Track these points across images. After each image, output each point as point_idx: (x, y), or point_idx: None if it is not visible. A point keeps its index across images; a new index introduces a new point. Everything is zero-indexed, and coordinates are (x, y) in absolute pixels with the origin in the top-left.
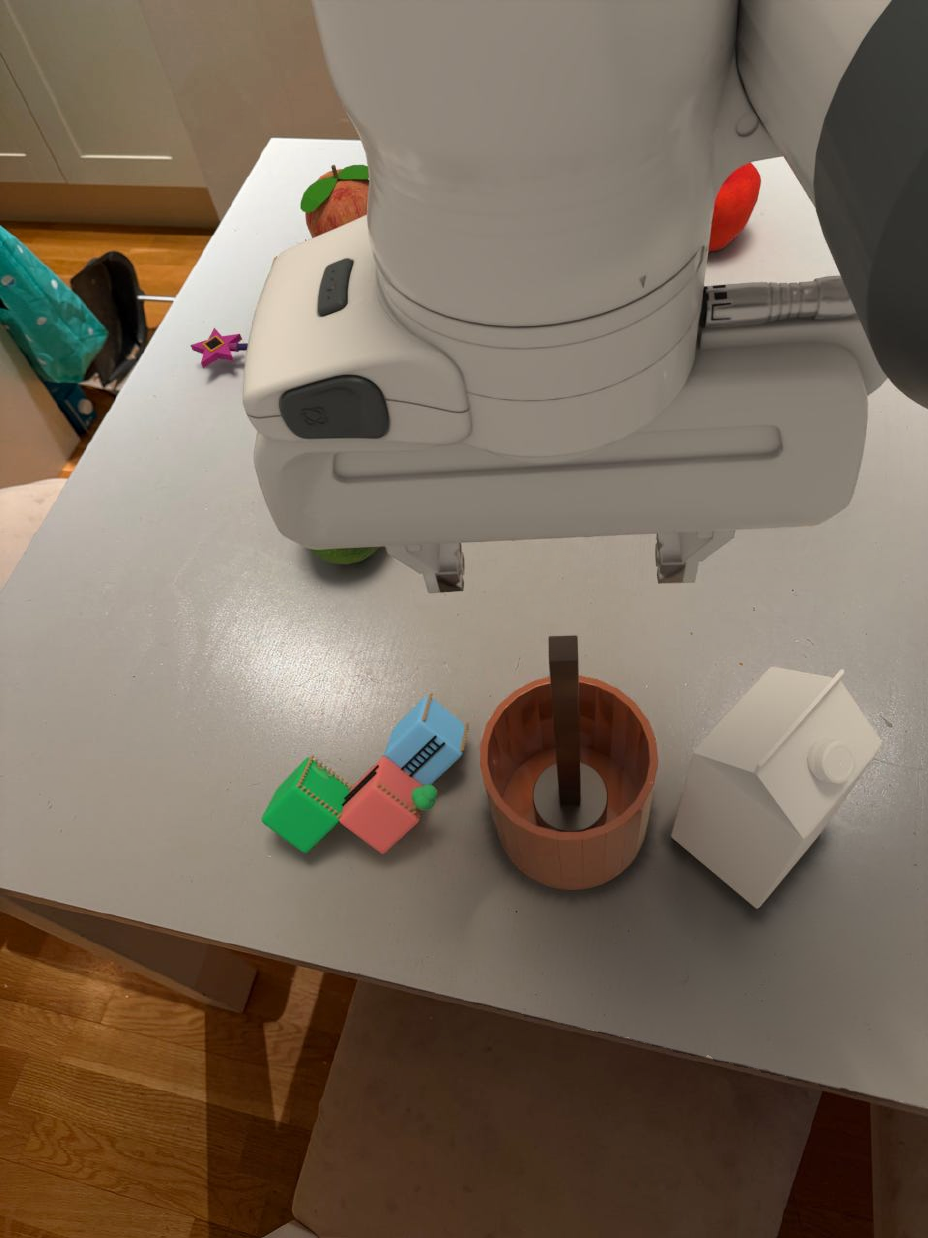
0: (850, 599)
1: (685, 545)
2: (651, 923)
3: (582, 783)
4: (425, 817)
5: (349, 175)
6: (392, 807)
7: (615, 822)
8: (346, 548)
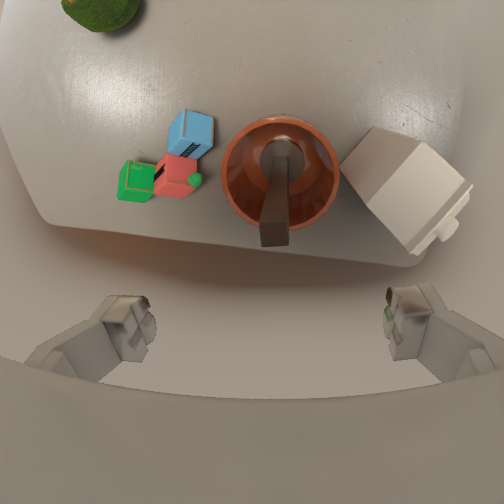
0: (436, 30)
1: (428, 350)
2: (326, 211)
3: (289, 154)
4: (200, 166)
5: None
6: (179, 187)
7: (312, 220)
8: (113, 25)
